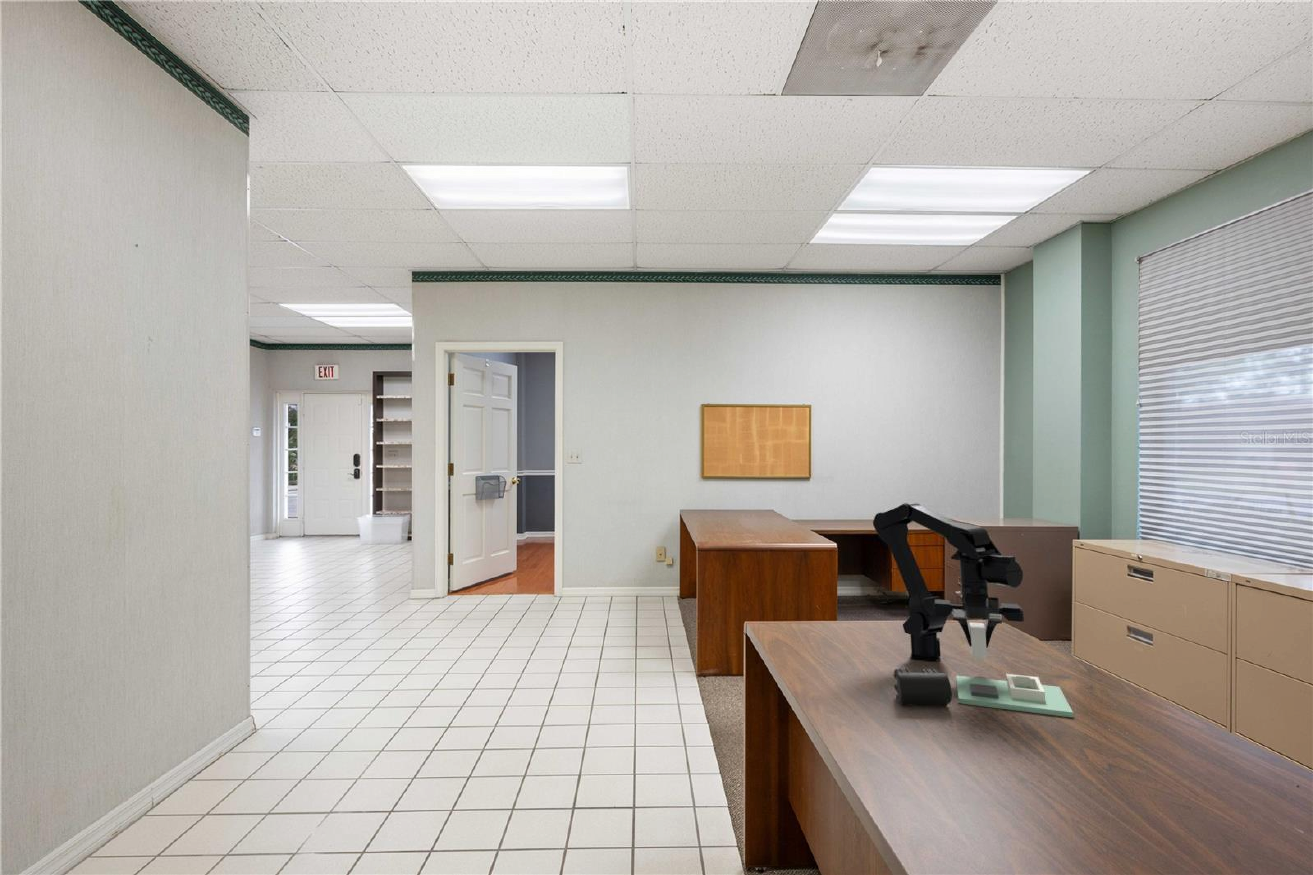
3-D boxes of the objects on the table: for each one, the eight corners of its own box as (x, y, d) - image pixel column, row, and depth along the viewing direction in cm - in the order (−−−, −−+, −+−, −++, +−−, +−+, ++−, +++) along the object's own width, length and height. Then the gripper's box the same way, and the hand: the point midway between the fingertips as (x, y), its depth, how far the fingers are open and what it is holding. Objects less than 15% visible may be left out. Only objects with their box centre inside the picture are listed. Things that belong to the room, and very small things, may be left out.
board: (958, 703, 122) (957, 688, 122) (956, 680, 135) (955, 666, 135) (1073, 717, 114) (1072, 702, 114) (1059, 691, 126) (1058, 677, 126)
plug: (972, 658, 136) (970, 627, 136) (971, 650, 141) (969, 621, 141) (987, 659, 134) (985, 629, 135) (985, 651, 140) (983, 622, 140)
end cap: (902, 711, 120) (900, 677, 120) (893, 697, 127) (891, 665, 127) (953, 712, 118) (951, 678, 119) (941, 698, 125) (939, 666, 126)
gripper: (930, 585, 135) (934, 653, 134) (1024, 589, 127) (1029, 661, 126) (931, 576, 145) (935, 639, 144) (1018, 579, 137) (1022, 646, 136)
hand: (978, 646), depth 137 cm, fingers closed on plug, 3 cm apart
